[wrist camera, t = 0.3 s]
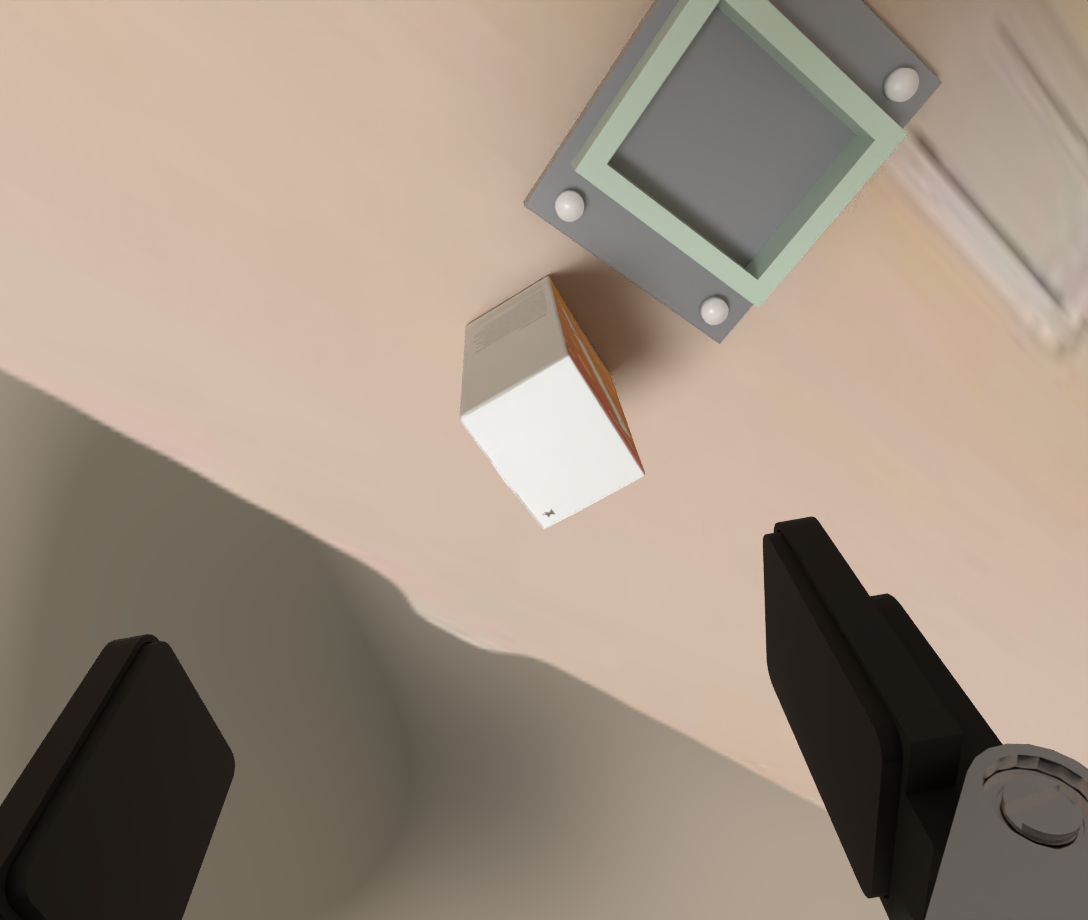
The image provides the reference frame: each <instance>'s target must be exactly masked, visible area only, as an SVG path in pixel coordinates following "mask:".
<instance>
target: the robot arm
mask: <svg viewBox="0 0 1088 920" xmlns="http://www.w3.org/2000/svg"><path fill="white" fill-rule="evenodd" d="M763 561H764V591H765V622H766V652H767V666H768V671H769V676H770V679H771V682H772V685H773V687H774V690H775V692H776V694H777V697H778V699H779V701H780V703H781V706H782V708H783V710H784V713H785V715H786V717H787V720H788V722H789V724H790V726H791V729H792V731H793V733H794V736H795V738H796V740H797V743H798V745H799V747H800V749H801V752H802V754H803V756H804V759H805V761H806V763H807V766H808V768H809V770H810V772H811V775H812V777H813V779H814V782H815V784H816V786H817V789H818V791H819V793H820V795H821V798H822V800H823V802H824V805H825V807H826V809H827V812H828V814H829V816H830V818H831V821H832V823H833V825H834V828H835V830H836V832H837V835H838V837H839V839H840V841H841V844H842V846H843V848H844V850H845V853H846V855H847V857H848V860H849V862H850V864H851V867H852V869H853V871H854V874H855V876H856V878H857V880H858V883H859V885H860V887H861V889H862V891H863V893H864V894H865V896H866V897H867V898H874V897H880V899H881V902H882V904H883V906H884V908H885V910H886V913H887V915H888V917H889V919H890V920H1088V769H1087V768H1086V767H1085V766H1083V765H1082V764H1080V763H1079V762H1077V761H1076V760H1074V759H1072V758H1069V757H1067V756H1065V755H1063V754H1060V753H1058V752H1056V751H1054V750H1051V749H1047V748H1043V747H1038V746H1034V745H1030V744H1004V745H1003V744H1002V743H1001V742H1000V740H999V739H998V738H997V736H996V735H995V733H994V732H993V731H992V729H991V728H990V727H989V725H988V724H987V722H986V721H985V720H984V718H983V717H982V716H981V714H980V713H979V712H978V710H977V709H976V707H975V706H974V705H973V703H972V702H971V701H970V699H969V698H968V696H967V695H966V694H965V692H964V691H963V690H962V688H961V687H960V685H959V684H958V683H957V681H956V680H955V679H954V677H953V676H952V674H951V673H950V672H949V670H948V669H947V668H946V666H945V665H944V663H943V662H942V661H941V659H940V658H939V657H938V655H937V654H936V652H935V651H934V650H933V648H932V647H931V646H930V644H929V643H928V642H927V640H926V639H925V637H924V636H923V635H922V633H921V632H920V631H919V629H918V628H917V626H916V625H915V624H914V622H913V621H912V620H911V618H910V617H909V615H908V614H907V613H906V611H905V610H904V609H903V607H902V606H901V604H900V603H899V602H898V601H897V600H896V599H895V598H894V597H893V596H891V595H889V594H881V595H876V596H869V594H868V593H867V591H866V590H865V588H864V587H863V586H862V584H861V583H860V581H859V580H858V578H857V577H856V575H855V574H854V572H853V571H852V569H851V568H850V566H849V565H848V564H847V562H846V561H845V559H844V558H843V556H842V555H841V553H840V552H839V550H838V549H837V547H836V546H835V545H834V543H833V542H832V540H831V539H830V537H829V536H828V534H827V533H826V531H825V530H824V528H823V527H822V526H821V524H820V523H819V521H818V520H817V519H816V518H815V517H806V518H801V519H795V520H789V521H784V522H778V523H776V524H775V527H774V533H771V534H766V535H764V537H763ZM234 769H235V761H234V756H233V753H232V751H231V749H230V747H229V746H228V744H227V742H226V741H225V739H224V737H223V735H222V734H221V732H220V730H219V729H218V727H217V726H216V723H215V722H214V720H213V718H212V717H211V715H210V713H209V712H208V710H207V708H206V706H205V705H204V703H203V701H202V700H201V698H200V696H199V695H198V693H197V691H196V689H195V688H194V686H193V684H192V683H191V681H190V679H189V677H188V676H187V674H186V673H185V671H184V669H183V667H182V666H181V664H180V662H179V660H178V659H177V657H176V655H175V653H174V652H173V650H172V648H171V647H170V646H169V644H167V643H166V642H162V641H159V640H158V639H157V638H156V637H155V636H153V635H147V634H146V635H141V636H135V637H130V638H124V639H118V640H113V641H111V642H109V643H108V644H107V645H106V646H105V648H104V649H103V650H102V652H101V653H100V655H99V656H98V658H97V659H96V661H95V662H94V664H93V665H92V667H91V669H90V670H89V671H88V673H87V675H86V676H85V678H84V679H83V681H82V682H81V684H80V685H79V687H78V688H77V690H76V692H75V693H74V694H73V696H72V698H71V699H70V701H69V702H68V704H67V705H66V707H65V708H64V710H63V711H62V713H61V714H60V716H59V717H58V719H57V720H56V722H55V723H54V725H53V727H52V728H51V730H50V731H49V733H48V734H47V736H46V737H45V739H44V740H43V742H42V743H41V745H40V746H39V748H38V749H37V751H36V752H35V754H34V755H33V757H32V759H31V760H30V762H29V763H28V765H27V766H26V768H25V769H24V771H23V773H22V774H21V775H20V777H19V778H18V780H17V781H16V783H15V784H14V786H13V787H12V789H11V791H10V792H9V794H8V795H7V797H6V798H5V800H4V801H3V803H2V804H1V806H0V920H182V917H183V915H184V912H185V909H186V906H187V904H188V901H189V898H190V895H191V893H192V889H193V887H194V884H195V882H196V879H197V876H198V873H199V870H200V868H201V865H202V862H203V859H204V856H205V854H206V851H207V848H208V846H209V843H210V840H211V837H212V834H213V832H214V828H215V826H216V823H217V820H218V818H219V815H220V812H221V810H222V807H223V804H224V801H225V798H226V795H227V793H228V790H229V787H230V784H231V782H232V779H233V776H234Z"/></svg>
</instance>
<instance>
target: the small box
mask: <svg viewBox="0 0 1088 920" xmlns="http://www.w3.org/2000/svg"><path fill="white" fill-rule="evenodd" d="M460 421H461V423H462V424H463V425H464V427H465V428H466V429H467V431H468V432H469V434H470V435H471V436H472V438H473V439H474V440H475V442H476V443H477V444H478V446H479V447H480V448H481V450H482V451H483V452H484V454H485V455H486V456H487V458H488V459H489V460H490V462H491V463H492V465H493V466H494V467H495V469H496V470H497V472H498V473H499V475H500V476H501V478H502V479H503V480H504V482H505V483H506V484H507V485H508V487H509V488H510V489H511V490H512V492H514V493H515V495H516V496H517V497H518V498H519V499H520V501H521V502H522V503H523V504H524V506H525V507H526V508H527V509H528V511H529V512H530V513H531V514H532V516H533V517H534V518H535V520H536V521H537V522H538V523H539V525H540V526H541V527H542V528H543V529H547V528H548V527H550V526H552V525H553V524H555V523H557V522H559V521H561V520H563V519H565V518H567V517H569V516H571V515H573V514H575V513H576V512H578V511H580V510H582V509H584V508H586V507H588V506H590V505H591V504H593V503H595V502H597V501H599V500H601V499H603V498H604V497H606V496H608V495H610V494H612V493H614V492H615V491H617V490H619V489H621V488H623V487H625V486H627V485H628V484H630V483H632V482H634V481H636V480H638V479H639V478H641V477H643V476H644V475H645V472H644V469H643V466H642V464H641V461H640V458H639V456H638V453H637V450H636V447H635V444H634V442H633V439H632V436H631V433H630V430H629V427H628V424H627V421H626V418H625V416H624V413H623V410H622V407H621V405H620V402H619V399H618V396H617V392H616V389H615V386H614V384H613V381H612V378H611V375H610V373H609V371H608V370H607V368H606V367H605V366H604V364H603V363H602V361H601V360H600V358H599V357H598V355H597V354H596V352H595V351H594V349H593V347H592V346H591V344H590V343H589V341H588V339H587V338H586V336H585V334H584V333H583V331H582V330H581V328H580V327H579V325H578V323H577V322H576V320H575V318H574V317H573V315H572V313H571V312H570V310H569V308H568V307H567V305H566V303H565V302H564V300H563V298H562V297H561V295H560V293H559V292H558V290H557V288H556V287H555V285H554V283H553V281H552V280H551V278H550V277H549V276H546V277H544V278H543V279H541V280H540V281H538V282H537V283H535V284H533V285H532V286H530V287H529V288H527V289H525V290H524V291H522V292H520V293H519V294H517V295H516V296H514V297H512V298H511V299H509V300H508V301H506V302H504V303H503V304H501V305H499V306H498V307H496V308H494V309H493V310H491V311H490V312H488V313H486V314H485V315H483V316H481V317H480V318H478V319H476V320H475V321H473V322H471V323H470V324H468V325H467V326H466V329H465V345H464V360H463V375H462V391H461V406H460Z"/></svg>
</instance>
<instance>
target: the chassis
mask: <svg viewBox="0 0 1088 920" xmlns="http://www.w3.org/2000/svg"><path fill="white" fill-rule="evenodd" d="M941 83H942V82H941V81H940V80H939V79H938V78H937V77H936V76H935V75H934V74H933V73H932V72H931V71H930V70H929V69H928V68H927V67H926V66H925V65H924V64H923V62H922V61H921V60H920V59H919V58H918V57H917V56H916V55H915V54H914V53H913V52H912V51H911V50H910V49H909V48H908V47H907V46H906V45H905V44H904V43H903V42H902V41H901V40H900V39H899V38H898V37H897V36H896V35H895V34H894V33H893V32H892V31H891V30H890V29H889V28H888V27H887V26H886V25H885V24H884V23H883V22H882V21H881V20H880V19H879V18H878V17H877V16H876V15H875V14H874V13H873V12H872V11H871V10H870V9H869V8H868V7H867V6H866V4H865V3H864V2H863V1H862V0H655V1H654V3H653V5H652V6H651V8H650V9H649V11H648V12H647V14H646V15H645V17H644V18H643V20H642V21H641V23H640V24H639V26H638V27H637V29H636V31H635V32H634V34H633V35H632V37H631V38H630V40H629V41H628V43H627V44H626V46H625V47H624V49H623V50H622V52H621V53H620V55H619V57H618V58H617V60H616V61H615V63H614V64H613V66H612V67H611V69H610V70H609V72H608V73H607V75H606V76H605V78H604V79H603V81H602V83H601V84H600V86H599V87H598V89H597V90H596V92H595V93H594V95H593V96H592V98H591V99H590V101H589V102H588V104H587V105H586V107H585V109H584V110H583V112H582V113H581V115H580V116H579V118H578V119H577V121H576V122H575V124H574V125H573V127H572V128H571V130H570V132H569V133H568V135H567V136H566V138H565V139H564V141H563V142H562V144H561V145H560V147H559V148H558V150H557V151H556V153H555V154H554V156H553V158H552V159H551V161H550V162H549V164H548V165H547V167H546V168H545V170H544V171H543V173H542V174H541V176H540V177H539V179H538V180H537V182H536V184H535V185H534V187H533V188H532V190H531V191H530V193H529V194H528V196H527V197H526V199H525V200H524V206H525V207H527V208H528V209H529V210H531V211H532V212H534V213H535V214H536V215H538V216H539V217H541V218H542V219H544V220H545V221H546V222H548V223H549V224H551V225H552V226H553V227H555V228H556V229H558V230H559V231H560V232H562V233H563V234H565V235H566V236H568V237H569V238H570V239H572V240H573V241H575V242H576V243H577V244H579V245H580V246H582V247H583V248H585V249H586V250H587V251H589V252H590V253H592V254H593V255H594V256H596V257H597V258H599V259H600V260H602V261H603V262H604V263H606V264H607V265H609V266H610V267H611V268H613V269H614V270H616V271H617V272H619V273H620V274H621V275H623V276H624V277H626V278H627V279H628V280H630V281H631V282H633V283H634V284H636V285H637V286H638V287H640V288H641V289H643V290H644V291H645V292H647V293H648V294H650V295H651V296H653V297H654V298H655V299H657V300H658V301H660V302H661V303H662V304H664V305H665V306H667V307H668V308H669V309H671V310H672V311H674V312H675V313H677V314H678V315H679V316H681V317H682V318H684V319H685V320H686V321H688V322H689V323H691V324H692V325H694V326H695V327H696V328H698V329H699V330H701V331H702V332H703V333H705V334H706V335H708V336H709V337H711V338H712V339H713V340H715V341H716V342H718V343H719V344H720V343H721V342H722V341H723V339H724V338H725V337H726V336H727V335H728V334H729V332H730V331H731V330H732V329H733V328H734V327H735V325H736V324H737V323H738V322H739V321H740V319H741V318H742V317H743V316H744V315H745V314H746V312H747V311H748V310H749V309H750V308H751V306H752V305H753V304H754V305H755V306H756V307H758V308H759V307H760V306H761V304H762V303H763V302H764V301H765V300H766V299H767V297H768V296H769V295H770V294H771V293H772V292H773V290H774V289H775V288H776V287H777V286H778V285H779V283H780V282H781V281H782V280H783V279H784V278H785V276H786V275H787V274H788V273H789V272H790V271H791V269H792V268H793V267H794V266H795V265H796V263H797V262H798V261H799V260H800V259H801V258H802V256H803V255H804V254H805V253H806V252H807V251H808V249H809V248H810V247H811V246H812V245H813V244H814V242H815V241H816V240H817V239H818V238H819V237H820V235H821V234H822V233H823V232H824V231H825V230H826V228H827V227H828V226H829V225H830V224H831V223H832V221H833V220H834V219H835V218H836V217H837V216H838V214H839V213H840V212H841V211H842V210H843V209H844V207H845V206H846V205H847V204H848V203H849V202H850V200H851V199H852V198H853V197H854V196H855V194H856V193H857V192H858V191H859V190H860V189H861V187H862V186H863V185H864V184H865V183H866V182H867V180H868V179H869V178H870V177H871V176H872V175H873V173H874V172H875V171H876V170H877V169H878V168H879V166H880V165H881V164H882V163H883V162H884V161H885V159H886V158H887V157H888V156H889V155H890V154H891V152H892V151H893V150H894V149H895V148H896V147H897V145H898V144H899V143H900V142H901V141H902V140H903V138H904V137H905V136H906V135H907V133H906V132H905V131H904V130H903V128H904V126H905V125H906V124H907V123H908V122H909V121H910V119H911V118H912V117H913V116H914V115H915V113H916V112H917V111H918V110H919V109H920V108H921V106H922V105H923V104H924V103H925V102H926V101H927V99H928V98H929V97H930V96H931V95H932V93H933V92H934V91H935V90H936V89H937V88H938V86H939V85H940V84H941Z"/></svg>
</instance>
